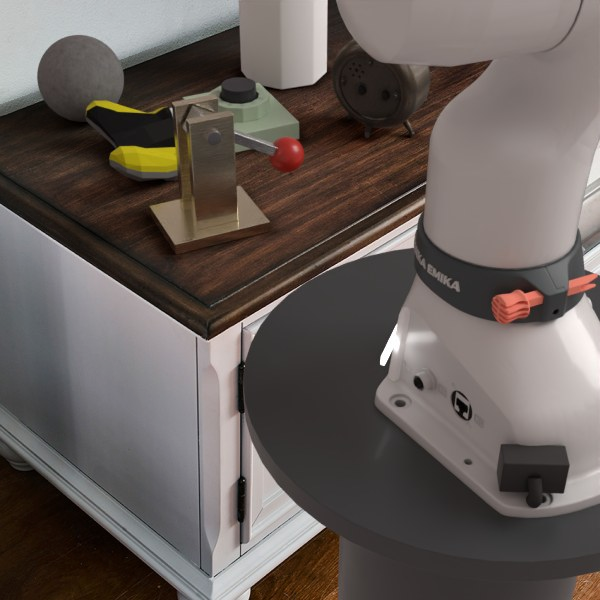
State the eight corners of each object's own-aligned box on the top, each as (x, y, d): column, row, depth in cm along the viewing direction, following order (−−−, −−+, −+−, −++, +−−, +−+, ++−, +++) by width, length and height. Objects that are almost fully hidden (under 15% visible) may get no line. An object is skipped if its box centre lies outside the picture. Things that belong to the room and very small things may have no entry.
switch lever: (285, 167, 107) (301, 136, 106) (299, 182, 105) (316, 151, 103) (176, 129, 100) (192, 96, 98) (189, 145, 97) (205, 111, 96)
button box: (299, 139, 120) (299, 107, 118) (219, 156, 117) (217, 124, 114) (259, 98, 129) (258, 68, 126) (183, 113, 125) (181, 83, 123)
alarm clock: (428, 133, 121) (439, -3, 111) (408, 152, 117) (417, 13, 108) (346, 112, 126) (350, -20, 116) (324, 129, 122) (326, -6, 112)
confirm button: (261, 101, 120) (261, 87, 119) (229, 108, 118) (228, 94, 117) (248, 88, 123) (248, 74, 122) (216, 94, 121) (216, 80, 120)
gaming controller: (118, 203, 108) (209, 185, 111) (112, 157, 105) (206, 139, 108) (86, 142, 119) (169, 127, 122) (80, 98, 116) (165, 83, 119)
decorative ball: (132, 130, 122) (123, 50, 116) (46, 140, 120) (33, 59, 114) (122, 95, 130) (114, 18, 124) (41, 104, 128) (29, 26, 122)
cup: (245, 54, 140) (239, -86, 129) (327, 56, 139) (329, -85, 129) (237, 89, 131) (231, -58, 120) (325, 91, 130) (327, -57, 120)
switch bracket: (240, 195, 110) (235, 82, 102) (270, 231, 104) (267, 115, 96) (150, 215, 106) (138, 101, 99) (175, 254, 100) (165, 136, 93)
